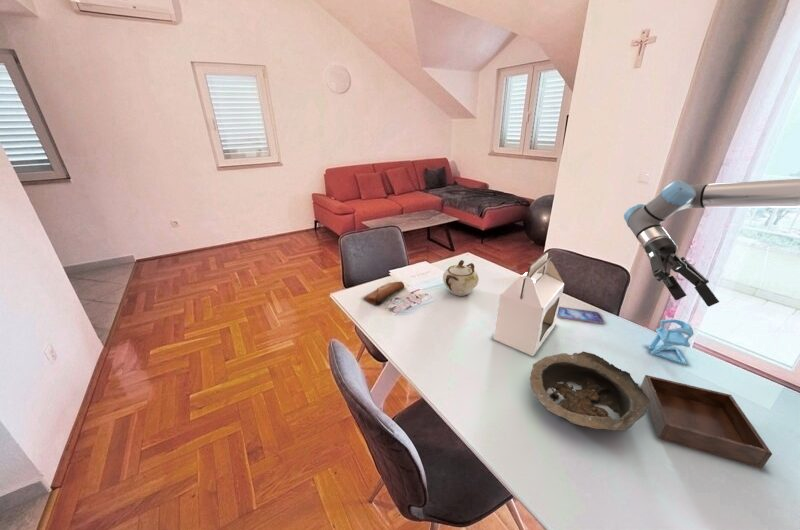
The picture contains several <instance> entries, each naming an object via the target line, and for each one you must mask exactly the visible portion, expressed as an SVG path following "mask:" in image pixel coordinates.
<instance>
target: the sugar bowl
mask: <svg viewBox="0 0 800 530" xmlns="http://www.w3.org/2000/svg"><path fill="white" fill-rule="evenodd" d="M464 264H465V261H464V260H463V259H460V260H459V262H458V263H457V264H455V265H450V266H449V267H448V268H446V270H445V271H444V272H443V274H442V281H443V283H444V285H445V287H446V288H447V290H448V291H449V292H450V293H451V294H452V295H454V296H457V297H465V296H467V295H469V294H470V293H471V292H472V291H473V290H474V289H475V288H476V287H477V285H478V284H479V280H480V279H479V275H478V272H476V269H475V264H474V263H472V262H471V263H468V264H465V265H464Z"/></svg>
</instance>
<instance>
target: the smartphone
mask: <svg viewBox="0 0 800 530" xmlns="http://www.w3.org/2000/svg"><path fill="white" fill-rule="evenodd" d="M557 318H560V319H566V320H574V321H581V322H587V323H595V324H604V319H603V318H602V316H601V314H600V313H599V312H597V311H591V310H583V309H577V308H569V307H562V306H561V307H560V306H559V309H558V314H557Z"/></svg>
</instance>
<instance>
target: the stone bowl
mask: <svg viewBox="0 0 800 530" xmlns="http://www.w3.org/2000/svg"><path fill="white" fill-rule="evenodd" d="M529 383H530V387H531V391H532V393H533V394H534V395H535V397H536V398H537V399H538V400H539V402H540V404H542V405H543V406H544V408H545V409H546V410H547V411H549V412H551V413H552V414H554V415H556V416H559V417H560V418H562V419H564V420H565V421H568V422H570V423H571V424H574V425H578V426H582V427H586V428H591V429H595V430H596V429H597V430H608V431H609V430H610V431H614V432H616V431H622V432H626V431H627V430H629V429H630V428H632V427H633V425H634V424H635V423H636V422H637V421H639V420H640V419H642V418H643V417H645V415H646V413H647V407H646V404H648V403H650V402H649V401H650V400H649V398H648V397H647V396H646V394H644V393H643V390H642V389H641V388H640V387H639V383H637V382H635V380H634V378H633V377H632V376H631V373H630V372H629V371H626V370H622V369H621V368H618V367H617V366H615V365H614V364H612V363H610V362H608V361H607V360H606V359H604V358H603V357H600V356H599V355H597V354H595V353H592V352H587V351H581V352H579V353H578V352H574V353H572V354H568V353H566V352H565V353H564V352H562V353H559V354H553V355H548V356H544V357H542V358H541V359H539V360H537V361H536V362H535V363H533V364H532V368H531V371H530V376H529ZM568 383H574V384H576V385H578V386H580V387H581V389H576V388H575V387H574V385H572V384H571V386H569V384H568ZM549 389H551V391H552V393H551V394H549V393H548V390H549ZM574 389H575V390H574ZM560 396H562V397H563V399H560V401H559V402H558V403H556V401H558V400H559V398H560ZM598 405H600V406H605V407H608V408H609V409H610V410H612V412H613V413H617V414H618V415H619V417H617V418H613V417H611V416H610V414H609V412H608V410H607V409H605V408H603V407H599V406H598Z"/></svg>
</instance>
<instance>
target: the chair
mask: <svg viewBox="0 0 800 530" xmlns="http://www.w3.org/2000/svg"><path fill="white" fill-rule="evenodd" d="M668 323H669V324H671V323H673V324H676V325H678V326H680V327H675V328H667V329H665V324H668ZM655 332H656V336H655V337H654V339H653V340H652V342H651V343H650V345H649V346H648V348H647V349H648V350H651V351H650V354H651V355H654V356H658V357H660V358H663V359H666V360H669V361H672V362H675V363H678V364H681V365H685V366H687V364H688V363H687V361H686V360H685V358H684V356H683V355H682V353H681V352H680V350H679V349H678V348H677V347H675V346H680V347H687V348H690V347H691V343H690V342H689V340H690V339H691V338H692V337H693V336H694V334H695V333H694V330H693V327H692V325H690V324H689V323H687V322H685V321H683V320H680V319H675V318H669V319H660V327H659V328H658V327H656V329H655ZM684 335H686V336H684ZM660 341H662V344H661V345H660V346H657V345H658V344H659V342H660ZM661 351H675V353H676V354H677V356H678V357H679V359H677V358H674V357H672V356H669V355H665V354H663V353H662V352H661ZM660 352H661V353H660Z"/></svg>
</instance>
